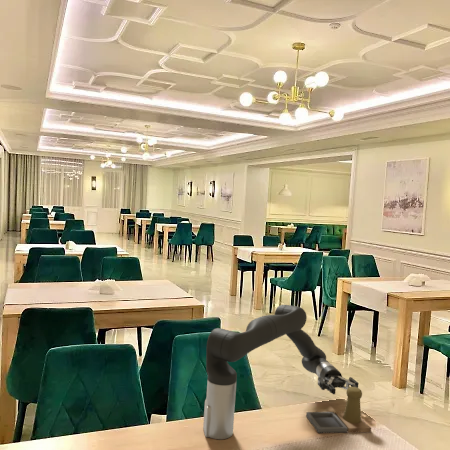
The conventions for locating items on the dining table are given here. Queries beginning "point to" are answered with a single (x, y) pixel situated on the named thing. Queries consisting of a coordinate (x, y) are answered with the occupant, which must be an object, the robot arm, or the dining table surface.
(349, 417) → the cork
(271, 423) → the dining table surface
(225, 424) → the robot arm
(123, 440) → the dining table surface
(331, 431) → the shallow grey tray
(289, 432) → the dining table surface
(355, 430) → the light brown wooden board
